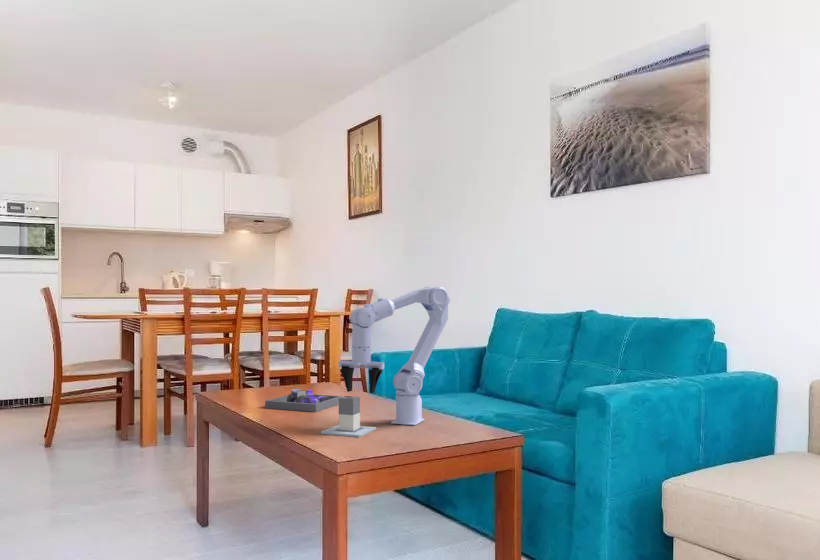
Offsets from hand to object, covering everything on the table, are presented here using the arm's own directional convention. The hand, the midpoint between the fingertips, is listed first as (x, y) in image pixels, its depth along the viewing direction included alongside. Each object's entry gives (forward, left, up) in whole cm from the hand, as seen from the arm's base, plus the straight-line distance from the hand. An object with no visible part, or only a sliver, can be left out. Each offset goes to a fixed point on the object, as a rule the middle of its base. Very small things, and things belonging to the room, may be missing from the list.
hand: (360, 392), depth 199 cm
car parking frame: (-26, -34, -10) cm, 44 cm away
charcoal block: (+8, 0, -5) cm, 10 cm away
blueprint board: (+8, 0, -10) cm, 13 cm away
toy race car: (-27, -32, -11) cm, 43 cm away
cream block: (+8, 0, -10) cm, 12 cm away
